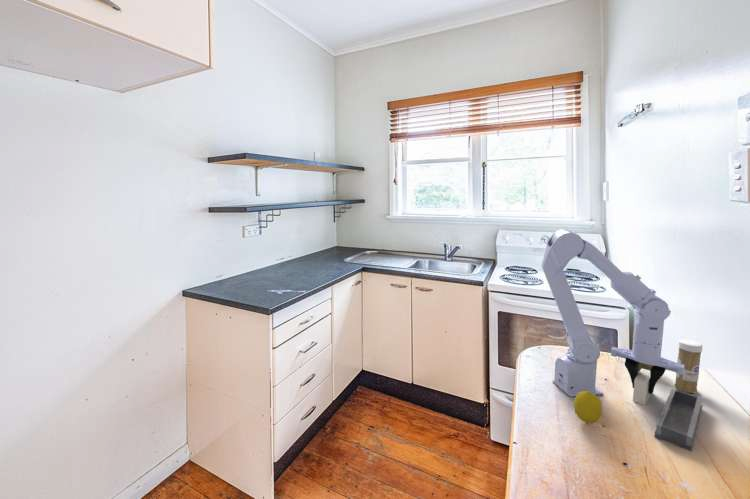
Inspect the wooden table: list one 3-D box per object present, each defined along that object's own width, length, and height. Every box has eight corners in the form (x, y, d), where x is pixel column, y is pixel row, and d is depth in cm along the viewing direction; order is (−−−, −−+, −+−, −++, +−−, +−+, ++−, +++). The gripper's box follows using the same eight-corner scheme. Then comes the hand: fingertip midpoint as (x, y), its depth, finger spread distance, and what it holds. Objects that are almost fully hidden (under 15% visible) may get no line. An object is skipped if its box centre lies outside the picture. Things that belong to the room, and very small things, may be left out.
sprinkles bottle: (691, 395, 87) (697, 347, 85) (670, 387, 91) (675, 340, 89) (700, 391, 89) (706, 343, 87) (679, 382, 93) (684, 337, 91)
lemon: (601, 434, 74) (603, 401, 73) (572, 426, 77) (574, 394, 76) (600, 419, 79) (602, 388, 78) (573, 412, 82) (575, 382, 80)
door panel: (644, 405, 84) (646, 383, 83) (632, 401, 86) (634, 379, 85) (651, 392, 89) (653, 371, 88) (639, 388, 91) (641, 368, 90)
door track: (691, 451, 68) (693, 438, 68) (654, 436, 73) (655, 424, 72) (701, 409, 81) (703, 397, 81) (669, 398, 86) (670, 388, 85)
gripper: (688, 344, 82) (682, 394, 84) (617, 328, 93) (614, 373, 95) (684, 353, 78) (678, 406, 80) (610, 335, 88) (606, 383, 90)
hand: (642, 389), depth 87 cm, fingers open, 3 cm apart
